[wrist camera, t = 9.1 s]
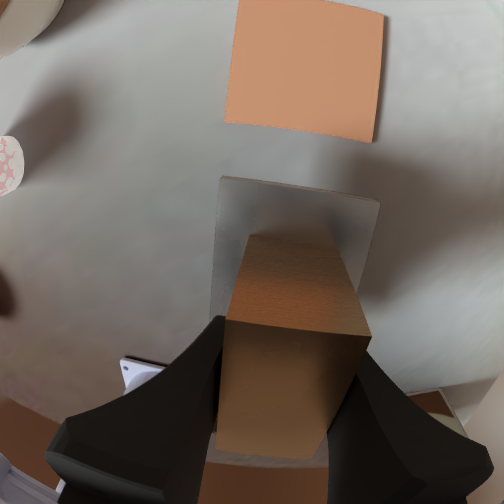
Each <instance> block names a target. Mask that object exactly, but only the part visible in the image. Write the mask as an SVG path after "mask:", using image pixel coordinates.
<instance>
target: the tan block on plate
mask: <svg viewBox="0 0 504 504" xmlns="http://www.w3.org/2000/svg"><path fill="white" fill-rule="evenodd" d="M380 204H381V203H380V202H379V201H377V200H376V199H371V198H366V197H361V196H355V195H350V194H345V193H339V192H334V191H328V190H322V189H316V188H310V187H304V186H297V185H291V184H284V183H277V182H270V181H263V180H255V179H247V178H239V177H231V176H222V177H221V178H220V181H219V192H218V204H217V216H216V228H215V241H214V255H213V270H212V286H211V303H210V322H211V321H212V319H213V318H214V317H215V316H216V315H222V316H226V319H225V330H224V342H223V354H222V367H221V380H220V393H219V407H218V422H217V436H216V450H222V451H228V452H234V453H242V454H249V455H258V456H267V457H278V458H293V459H311V458H312V456H313V454H314V453H315V451H316V449H317V448H318V446H319V444H320V442H321V441H322V439H323V437H324V435H325V433H326V432H327V430H328V428H329V426H330V424H331V423H332V421H333V419H334V417H335V415H336V413H337V411H338V409H339V407H340V405H341V403H342V401H343V399H344V397H345V395H346V393H347V391H348V389H349V387H350V385H351V383H352V381H353V379H354V377H355V374H356V372H357V370H358V368H359V366H360V363H361V361H362V359H363V357H364V354H365V352H366V350H367V347H368V345H369V342H370V340H371V338H372V335H371V332H370V329H369V327H368V324H367V321H366V318H365V316H364V313H363V310H362V308H361V305H360V302H359V300H358V297H357V295H356V294H357V291H358V287H359V284H360V281H361V277H362V274H363V271H364V267H365V264H366V260H367V256H368V253H369V249H370V245H371V241H372V238H373V234H374V230H375V226H376V222H377V217H378V213H379V209H380ZM210 322H209V323H210Z"/></svg>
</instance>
